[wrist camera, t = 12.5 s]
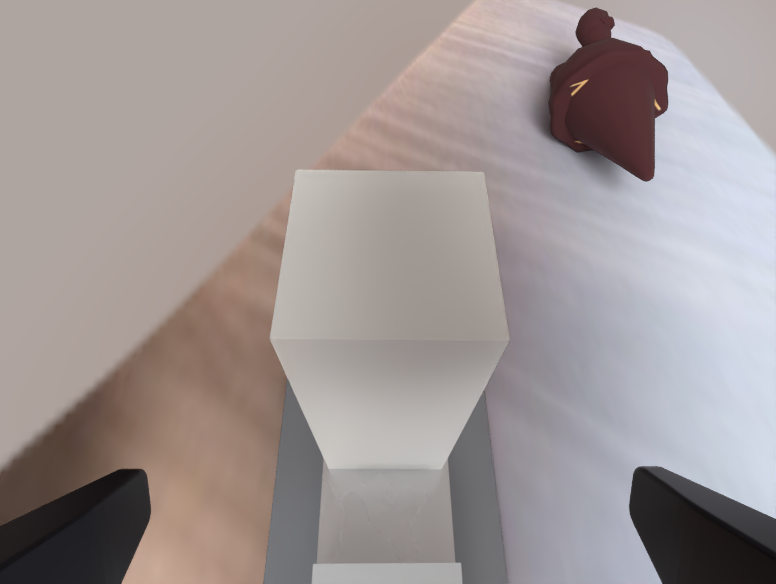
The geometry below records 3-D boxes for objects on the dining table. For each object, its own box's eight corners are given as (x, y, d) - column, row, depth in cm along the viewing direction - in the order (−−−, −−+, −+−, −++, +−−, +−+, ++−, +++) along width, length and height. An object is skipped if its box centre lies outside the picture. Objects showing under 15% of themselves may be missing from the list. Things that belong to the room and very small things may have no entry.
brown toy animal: (761, 136, 23) (648, 9, 32) (634, 102, 21) (554, -22, 30) (660, 233, 28) (588, 100, 37) (553, 212, 26) (505, 78, 36)
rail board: (514, 699, 16) (561, 740, 12) (256, 702, 16) (212, 744, 12) (463, 261, 26) (479, 200, 22) (305, 261, 26) (291, 199, 22)
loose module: (441, 469, 18) (509, 341, 9) (328, 468, 18) (269, 338, 9) (435, 360, 21) (483, 166, 11) (335, 359, 21) (296, 163, 11)
